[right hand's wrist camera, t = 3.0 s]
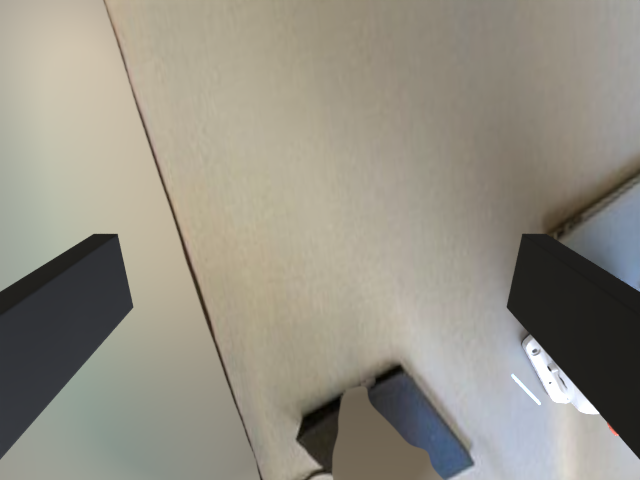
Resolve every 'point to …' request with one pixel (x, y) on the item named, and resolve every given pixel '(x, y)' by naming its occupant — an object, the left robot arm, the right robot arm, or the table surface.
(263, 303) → the table surface
